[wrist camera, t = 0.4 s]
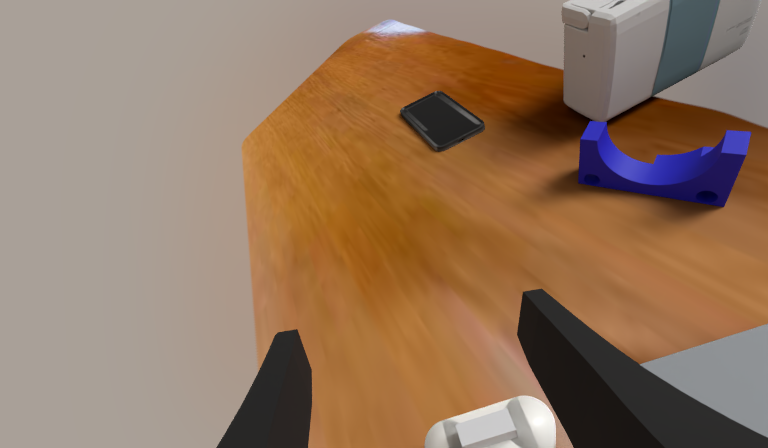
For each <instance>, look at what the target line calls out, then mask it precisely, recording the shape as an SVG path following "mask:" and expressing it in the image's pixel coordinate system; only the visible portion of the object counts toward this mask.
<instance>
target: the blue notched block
mask: <svg viewBox="0 0 768 448" xmlns="http://www.w3.org/2000/svg"><path fill="white" fill-rule="evenodd" d="M750 135H751V132H743V131H729V130H727V131H726V134H725V136H724V137H723V139H722V140H721V141H720V143H719V144H718V145H717V146H716V147H715V148H713V147H702V148H699V149H697V150H694V151H691V152H688V153H684V154H678V155H657V157H656V160H655V162H654V164H649V163H644V162H641V161H638V160H635V159H633V158H630V157H628V156H627V155H625V154H624V153H622V152H621V151H620V150H618V149H617V148H616V147H615V145H614V144H613V143H612V141H611V140H610V138H609V135H608V132H607V122H596V121H590V122H589V124H588V126H587V128H586V130H585V132H584V133H583V135H582V137H581V139H580V159H579V179H578V183H580V184H586V185H592V186H598V187H604V188H610V189H617V190H623V191H629V192H635V193H641V194H647V195H654V196H660V197H666V198H672V199H678V200H684V201H691V202H697V203H703V204H709V205H715V206H721V207H724V206H725V203H726V201H727V199H728V196H729V194H730V192H731V189H732V187H733V185H734V182H735V180H736V178H737V175H738V173H739V171H740V168H741V166H742V164H743V161H744V159H745V157H746V154H747V149H748V144H749V140H750Z"/></svg>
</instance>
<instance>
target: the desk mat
mask: <svg viewBox="0 0 768 448" xmlns="http://www.w3.org/2000/svg"><path fill="white" fill-rule="evenodd" d="M640 365H641V366H643V367H644V368H646V369H647V370H649V371H650V372H652V373H653V374H655V375H656V376H658V377H660V378H661V379H663V380H664V381H666V382H668V383H669V384H671V385H672V386H674V387H676V388H677V389H679V390H680V391H682V392H684V393H685V394H687V395H689V396H691V397H692V398H694V399H696V400H697V401H699V402H701V403H703V404H705V405H707V406H708V407H710V408H712V409H714V410H716V411H717V412H719V413H721V414H723V415H725V416H727V417H728V418H730V419H732V420H734V421H736V422H738V423H740V424H742V425H744V426H746V427H747V428H749V429H751V430H753V431H755V432H757V433H759V434H761V435H764V436H766V437H768V324H766V325H763V326H760V327H756V328H753V329H750V330H747V331H744V332H741V333H737V334H734V335H731V336H728V337H725V338H722V339H719V340H715V341H712V342H709V343H706V344H703V345H700V346H696V347H693V348H690V349H687V350H684V351H681V352H678V353H674V354H671V355H668V356H665V357H662V358H659V359H655V360H652V361H649V362H646V363H643V364H640Z"/></svg>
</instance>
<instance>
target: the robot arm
mask: <svg viewBox="0 0 768 448" xmlns="http://www.w3.org/2000/svg"><path fill="white" fill-rule="evenodd" d="M517 336H518V338H519V341H520V343H521V346H522V348H523V351H524V353H525V356H526V358H527V361H528V363H529V365H530V367H531V369H532V371H533V373H534V375H535V377H536V378H537V380H538V382H539V384H540V386H541V388H542V389H543V391H544V393H545V395H546V397H547V398H548V400H549V402H550V404H551V406H552V408H553V409H554V411H555V413H556V415H557V417H558V418H559V420H560V422H561V424H562V426H563V428H564V429H565V431H566V433H567V435H568V437H569V439H570V441H571V443H572V445H573V447H574V448H768V437H766V436H764V435H761V434H759V433H757V432H755V431H753V430H751V429H749V428H747V427H746V426H744V425H742V424H740V423H738V422H736V421H734V420H732V419H730V418H728V417H727V416H725V415H723V414H721V413H719V412H717V411H716V410H714V409H712V408H710V407H708V406H707V405H705V404H703V403H701V402H699V401H697V400H696V399H694V398H692V397H691V396H689V395H687V394H685V393H684V392H682V391H680V390H679V389H677V388H676V387H674V386H672V385H671V384H669V383H668V382H666V381H664V380H663V379H661V378H660V377H658V376H656V375H655V374H653V373H652V372H650V371H649V370H647V369H646V368H644V367H643V366H641V365H640V364H638V363H637V362H635V361H634V360H632V359H631V358H630V357H628V356H627V355H625V354H624V353H623V352H621V351H620V350H618V349H617V348H616V347H614V346H613V345H612V344H610V343H609V342H608V341H606V340H605V339H604V338H602V337H601V336H600V335H598V334H597V333H596V332H595V331H593V330H592V329H591V328H589V327H588V326H587V325H586V324H584V323H583V322H582V321H581V320H579V319H578V318H577V317H576V316H574V315H573V314H572V313H571V312H570V311H568V310H567V309H566V308H565V307H563V306H562V305H561V304H560V303H559V302H557V301H556V300H555V299H554V298H553V297H551V296H550V295H549V294H548V293H546V292H545V291H544V290H543V289H537V290H531V291H525V292H523V296H522V303H521V310H520V317H519V325H518V332H517ZM311 408H312V371H311V367H310V364H309V361H308V358H307V356H306V353H305V350H304V347H303V344H302V341H301V339H300V336H299V333H298V330H297V329H296V330H290V331H284V332H278V333H277V334H276V335H275V337H274V339H273V342H272V344H271V346H270V349H269V351H268V353H267V355H266V357H265V360H264V362H263V364H262V366H261V368H260V370H259V372H258V374H257V376H256V378H255V380H254V382H253V384H252V386H251V388H250V390H249V392H248V394H247V396H246V398H245V400H244V401H243V403H242V405H241V407H240V409H239V410H238V412H237V414H236V416H235V417H234V419H233V421H232V422H231V424H230V426H229V428H228V429H227V431H226V433H225V435H224V437H223V438H222V439H221V441H220V443H219V444H218V446H217V448H308V440H309V430H310V419H311Z"/></svg>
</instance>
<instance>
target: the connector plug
mask: <svg viewBox="0 0 768 448" xmlns="http://www.w3.org/2000/svg"><path fill="white" fill-rule="evenodd" d="M425 448H556V427H555V420H554V417H553V414H552V413H551V411H550V409H549V408H548V407H547V406H546V405H545V404H544V403H543V402H542V401H540V400H538V399H536V398H534V397H531V396H518V397H515V398H512V399H509V400H505V401H502V402H499V403H496V404H493V405H490V406H487V407H483V408H480V409H477V410H474V411H471V412H468V413H465V414H461V415H458V416H455V417H452V418H449V419H446V420H443V421H440V422H438V423H436V424H435V425H434V426H433V427H432V428H431V429H430V430H429V432H428V434H427V436H426V439H425Z"/></svg>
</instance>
